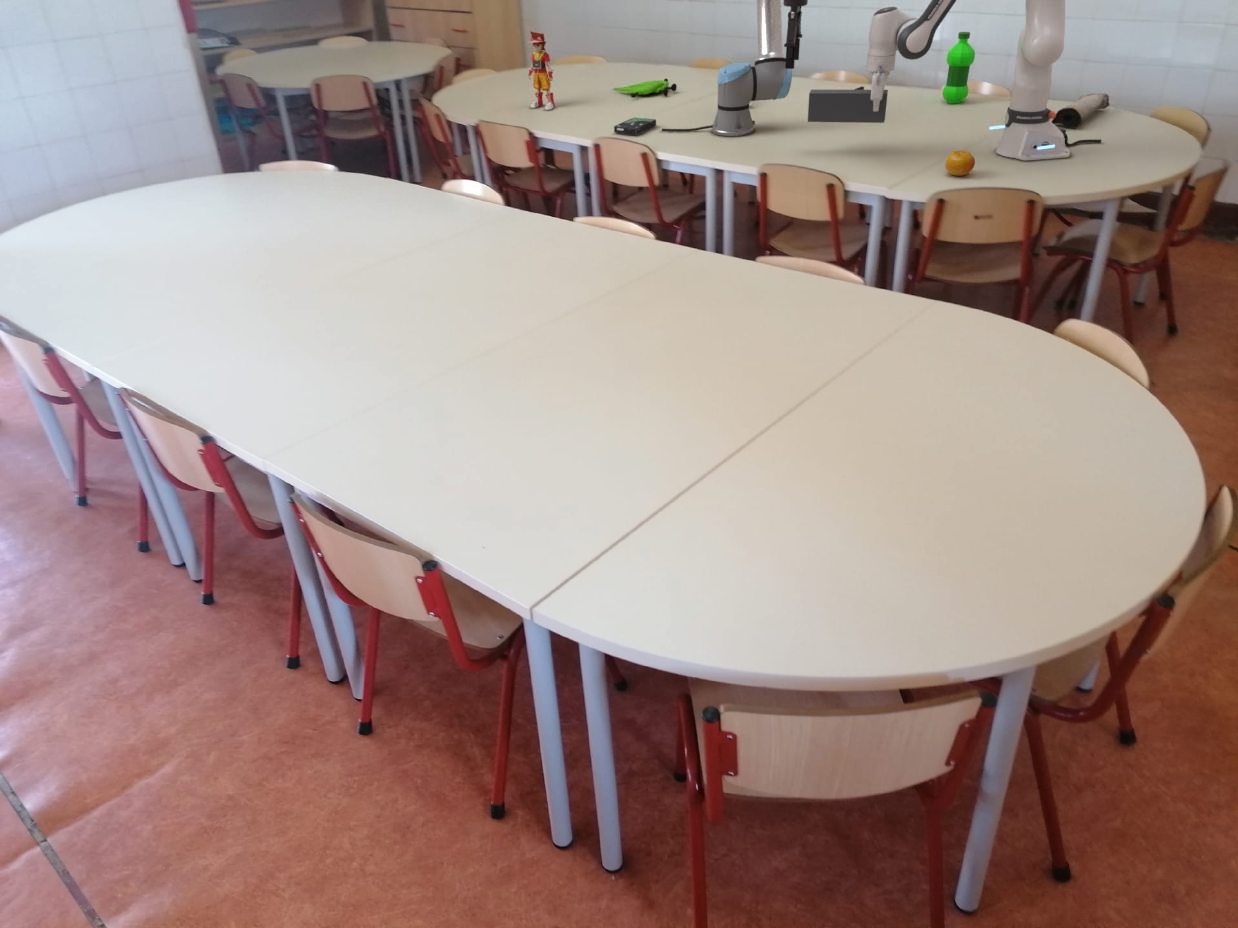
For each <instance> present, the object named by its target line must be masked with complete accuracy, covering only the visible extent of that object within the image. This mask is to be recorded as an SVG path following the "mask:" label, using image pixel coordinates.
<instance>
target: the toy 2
mask: <svg viewBox="0 0 1238 928" xmlns="http://www.w3.org/2000/svg"><path fill="white" fill-rule="evenodd" d="M669 85H670V83H669V79H668V78H664V79H663V80H649V81H644V82H640V83H634V84H629V85H627V86H621V87H613V88H612V89H613V90H616V91H619V92H623V93H627V94H628V93H629V94H631V95H630V96H631V98H632V99H634V98H636V96H637V95H650V94H652V93H654V94H658V93H662V95H663V96H665V97H667V96H668V95H669V90H671V91H672V92H676V91H677V84H676V83H672V84H671V86H669Z"/></svg>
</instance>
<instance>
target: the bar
mask: <svg viewBox="0 0 1238 928" xmlns="http://www.w3.org/2000/svg"><path fill="white" fill-rule="evenodd" d="M888 94H889V89H884V93H883V97H882V100H880V103H879V110H878V111H877V112H874V111H873V100H871V89H864V90H854V89H810V91H809V93H808V110H807V123H856V124H857V123H860V124H861V123H868V124H869V123H870V124H885V120H886V114H887V113H886V112H887V103H888Z"/></svg>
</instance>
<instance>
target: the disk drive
mask: <svg viewBox="0 0 1238 928" xmlns="http://www.w3.org/2000/svg"><path fill="white" fill-rule="evenodd" d="M656 126H657V119H655V118H647V117H646V118H645V117H635V116H634V117H631V118H629V119H627V120H625V121H622V122H620V123H618V124H616V125H614V126H613V131H614V133H615V134H620V135H629V136H638V135H641V134H642V133H644V132H646V131H649V130H651V129H653V128H655V127H656Z"/></svg>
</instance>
